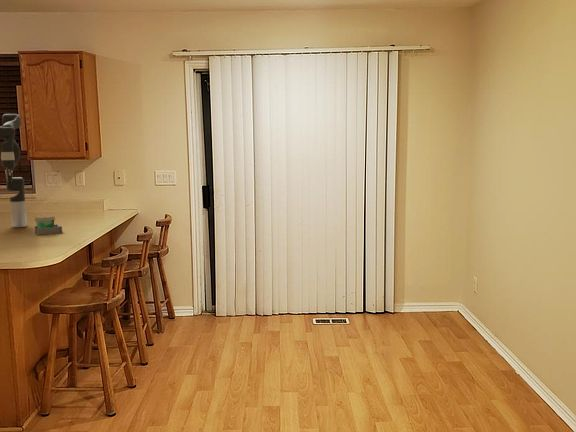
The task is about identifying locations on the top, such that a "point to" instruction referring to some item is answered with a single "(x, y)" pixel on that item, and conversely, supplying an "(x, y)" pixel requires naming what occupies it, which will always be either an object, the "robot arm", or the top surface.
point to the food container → (45, 222)
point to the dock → (49, 230)
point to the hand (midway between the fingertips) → (10, 187)
